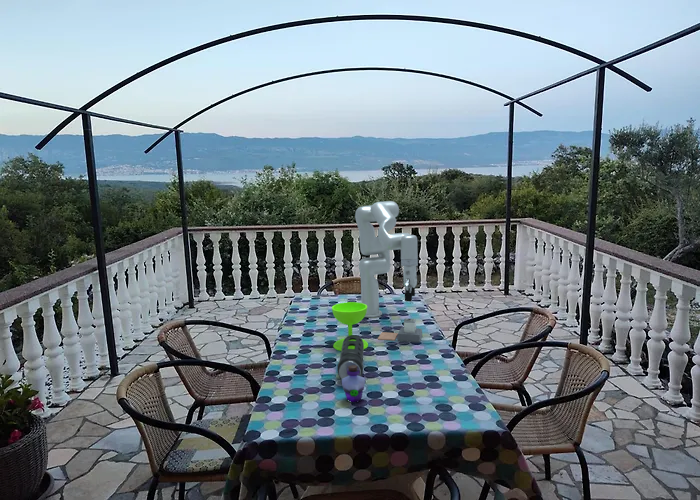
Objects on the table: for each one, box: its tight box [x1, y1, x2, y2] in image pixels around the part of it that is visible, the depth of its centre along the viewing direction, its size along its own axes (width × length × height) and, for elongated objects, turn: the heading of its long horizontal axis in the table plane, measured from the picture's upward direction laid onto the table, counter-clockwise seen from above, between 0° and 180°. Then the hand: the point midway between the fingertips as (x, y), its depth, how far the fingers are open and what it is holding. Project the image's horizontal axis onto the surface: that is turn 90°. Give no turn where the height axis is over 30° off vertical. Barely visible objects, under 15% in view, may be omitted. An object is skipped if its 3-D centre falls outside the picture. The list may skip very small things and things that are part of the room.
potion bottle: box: [341, 365, 366, 402], centre depth 163 cm, size 9×9×12 cm
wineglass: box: [331, 301, 369, 352], centre depth 214 cm, size 16×16×18 cm
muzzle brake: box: [336, 334, 365, 380], centre depth 187 cm, size 10×28×10 cm, turn 177°
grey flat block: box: [397, 327, 423, 343], centre depth 221 cm, size 10×9×4 cm
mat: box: [377, 331, 398, 342], centre depth 225 cm, size 8×9×1 cm
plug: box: [403, 318, 417, 333], centre depth 221 cm, size 5×4×9 cm
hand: (410, 298), depth 218 cm, fingers open, 9 cm apart
